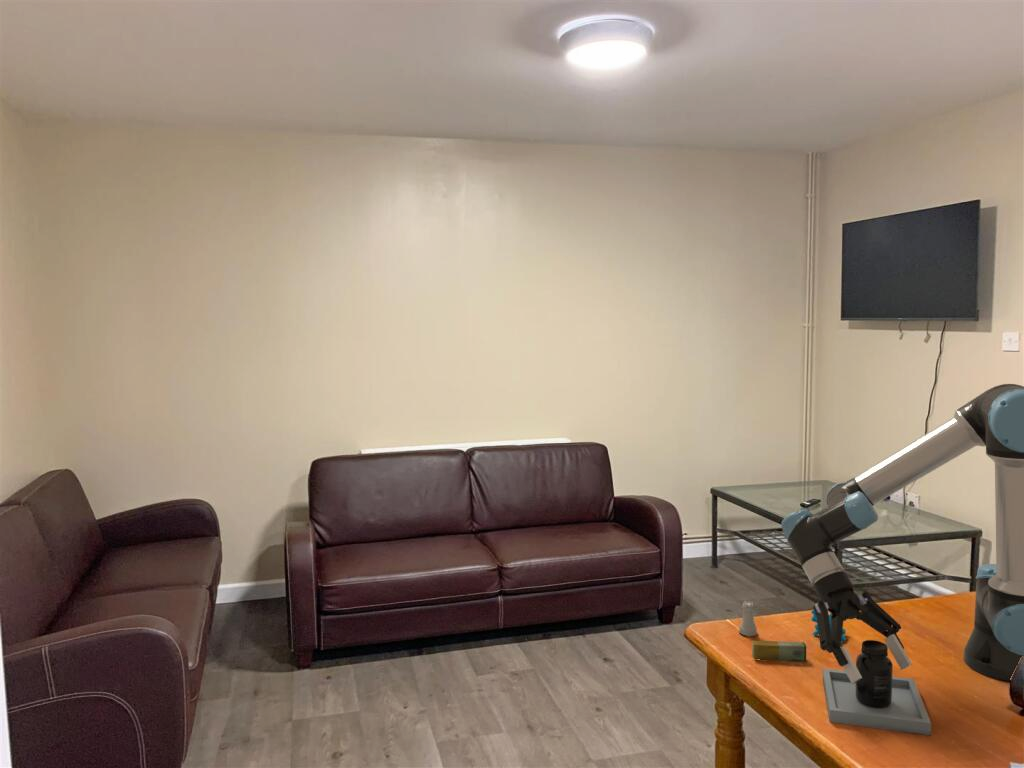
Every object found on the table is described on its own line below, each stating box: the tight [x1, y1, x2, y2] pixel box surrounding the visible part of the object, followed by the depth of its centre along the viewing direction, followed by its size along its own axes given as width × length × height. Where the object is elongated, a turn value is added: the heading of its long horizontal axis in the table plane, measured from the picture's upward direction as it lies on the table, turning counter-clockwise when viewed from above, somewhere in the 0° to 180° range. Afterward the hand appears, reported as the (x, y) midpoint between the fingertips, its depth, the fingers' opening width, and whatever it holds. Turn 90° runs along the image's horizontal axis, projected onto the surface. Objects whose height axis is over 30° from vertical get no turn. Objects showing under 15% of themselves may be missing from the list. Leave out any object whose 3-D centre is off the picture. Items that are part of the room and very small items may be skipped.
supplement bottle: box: [855, 639, 893, 708], centre depth 161 cm, size 7×7×12 cm
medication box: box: [751, 640, 807, 663], centre depth 183 cm, size 12×3×4 cm, turn 83°
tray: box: [822, 668, 932, 736], centre depth 161 cm, size 18×18×2 cm
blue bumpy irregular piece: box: [810, 609, 847, 645], centre depth 193 cm, size 11×6×10 cm
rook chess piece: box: [738, 600, 758, 637], centre depth 196 cm, size 4×4×8 cm
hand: (882, 673), depth 159 cm, fingers open, 13 cm apart
